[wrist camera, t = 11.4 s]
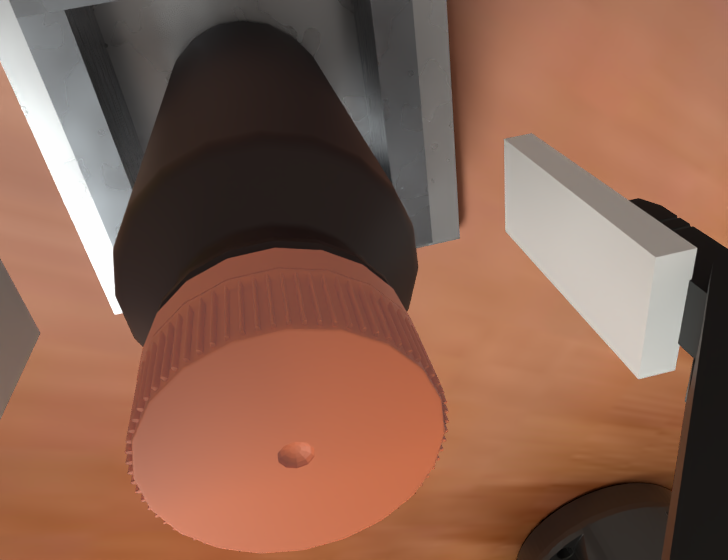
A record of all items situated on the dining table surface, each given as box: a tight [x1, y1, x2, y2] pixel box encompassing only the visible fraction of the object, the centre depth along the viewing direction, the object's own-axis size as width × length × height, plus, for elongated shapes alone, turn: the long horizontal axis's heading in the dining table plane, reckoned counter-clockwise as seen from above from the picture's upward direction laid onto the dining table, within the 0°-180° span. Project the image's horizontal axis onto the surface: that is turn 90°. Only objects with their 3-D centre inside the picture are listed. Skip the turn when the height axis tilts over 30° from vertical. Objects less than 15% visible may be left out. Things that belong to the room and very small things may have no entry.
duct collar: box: [0, 0, 460, 314], centre depth 24 cm, size 18×18×5 cm
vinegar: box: [113, 21, 449, 553], centre depth 17 cm, size 7×7×20 cm
